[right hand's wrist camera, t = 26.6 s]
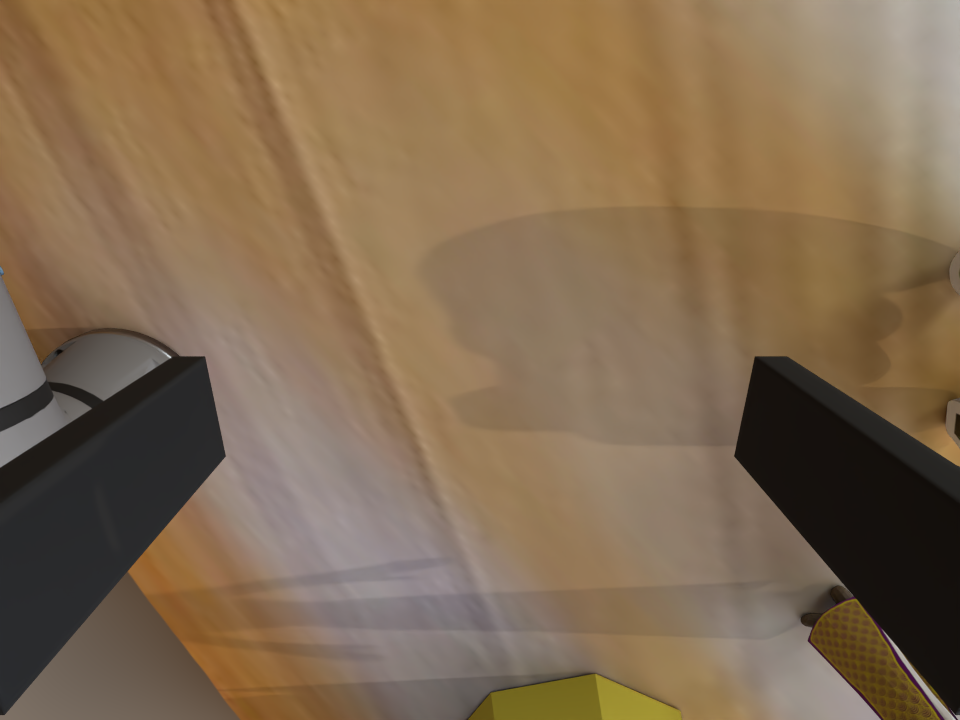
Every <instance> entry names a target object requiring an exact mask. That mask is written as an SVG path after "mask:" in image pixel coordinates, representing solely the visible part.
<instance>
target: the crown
mask: <svg viewBox="0 0 960 720" xmlns="http://www.w3.org/2000/svg"><path fill="white" fill-rule="evenodd" d="M468 720H682V717H681V712H680V711H679V710H677V709H675V708H673V707H670V706H668V705H666V704H663V703H661V702H659V701H657V700H654V699H652V698H650V697H647V696H645V695H643V694H641V693H638V692H636V691H634V690H631V689H629V688H627V687H625V686H622V685H620V684H618V683H615V682H613V681H611V680H608V679H606V678H604V677H602V676H599V675H597V674H591V675H585V676H580V677H574V678H569V679H563V680H558V681H552V682H547V683H541V684H536V685H530V686H525V687H519V688H514V689H508V690H503V691H497V692H492V693H490V694H489V695H488V697H487V698H486V699H485V700H484V701H483V703H482V704H481V705H480V706H479V707H478V708H477V710H476V711H475V712H474V713H473V714H472V715H471V717H470V718H469V719H468Z"/></svg>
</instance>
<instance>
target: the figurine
mask: <svg viewBox="0 0 960 720" xmlns="http://www.w3.org/2000/svg"><path fill="white" fill-rule="evenodd" d="M831 596H832V598H833V599H834V601H835V602H836V603H837V604H836V605H834V606H833V607H831V608H830V609H828V610H827V611H826V612H824V613H823V614H812V613H810V614H807V615H804V616H803V617H802V618H801V622H802V624H803V625H805V626H808V627H812V630H811V633H810V636H809V638H808V642H809V643H810V644H811V645H812V646H813V647H814V648H815V649H816V650H817V651H818V652H819V653H820V654H821V655H822V656H823V657H824V658H825V659H826V660H827V661H828V663H829V664H830V665H831V666H832V667H833V668H834V669H835V670H836V671H837V672H838V673H839V674H840V675H841V676H842V677H843V678H844V679H845V680H846V681H847V683H848V684H849V685H850V686H851V687H852V688H853V689H854V690H855V691H856V692H857V693H858V694H859V695H860V696H861V697H862V699H863V700H864V701H865V702H866V703H867V704H868V705H869V706H870V708H871V709H872V710H873V711H874V712H875V713H876V714H877V715H878V717H879V718H880V719H881V720H958V719H957V718H956V717H955V715H954V714H953V712H952V711H951V710H950V708H949V707H948V706H947V704H946V703H945V702H944V701H943V700H942V699H941V697H940V696H939V695H938V694H937V693H936V692H935V690H934V689H933V688H932V687H931V686H930V685H929V683H928V682H927V681H926V680H925V679H924V678H923V676H922V675H921V674H920V673H919V672H918V671H917V669H916V668H915V667H914V666H913V665H912V664H911V662H910V661H909V660H908V659H907V658H906V657H905V655H904V654H903V653H902V652H901V651H900V649H899V648H898V647H897V646H896V645H895V644H894V642H893V641H892V640H891V639H890V638H889V637H888V635H887V634H886V633H885V632H884V631H883V630H882V628H881V627H880V626H879V625H878V624H877V623H876V621H875V620H874V619H873V618H872V617H871V616H870V614H869V613H868V612H867V611H866V610H865V609H864V607H863V606H862V605H861V604H860V603H859V602H858V600H857V599H856V598H855V597H853V596H852V595H851V594H850V592H849V591H848V590H846V589H845V588H844V587H842V586H836V587H834V588H833V589H832V591H831Z"/></svg>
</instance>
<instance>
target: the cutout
mask: <svg viewBox="0 0 960 720" xmlns="http://www.w3.org/2000/svg"><path fill="white" fill-rule="evenodd" d="M949 274H950V282H951V284H952V287H953V288H954V290H955V291H956V293H957V294H958V295H960V251H958V253H957V254H956V255H955V256H954V258H953V260H952V262H951V265H950V269H949ZM945 426H946V431H947V433H948V434H949V436H950V437H951V438H952V439H953V440H954V442H955V443H956V444H957V446H958V447H959V448H960V398H957V399H953V400H951V401H949V402H948V405H947V415H946V424H945Z"/></svg>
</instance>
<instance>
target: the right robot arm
mask: <svg viewBox="0 0 960 720" xmlns="http://www.w3.org/2000/svg"><path fill="white" fill-rule="evenodd" d="M3 274H4V272H3V269H2V268H1V266H0V715H5V714H6V713H7V711H8V710H9V709H10V708H11V707H12V706H13V704H14V703H15V702H16V701H17V700H18V699H19V697H20V696H21V695H22V694H23V693H24V692H25V690H26V689H27V688H28V687H29V686H30V685H31V683H32V682H33V681H34V680H35V679H36V678H37V676H38V675H39V674H40V673H41V672H42V671H43V669H44V668H45V667H46V666H47V665H48V664H49V662H50V661H51V660H52V659H53V658H54V657H55V655H56V654H57V653H58V652H59V651H60V649H61V648H62V647H63V646H64V645H65V644H66V642H67V641H68V640H69V639H70V638H71V637H72V635H73V634H74V633H75V632H76V631H77V630H78V628H79V627H80V626H81V625H82V624H83V623H84V621H85V620H86V619H87V618H88V617H89V616H90V614H91V613H92V612H93V611H94V610H95V609H96V607H97V606H98V605H99V604H100V603H101V601H102V600H103V599H104V598H105V597H106V596H107V594H108V593H109V592H110V591H111V590H112V589H113V588H114V586H115V585H116V584H117V583H118V582H119V581H120V579H121V578H122V577H123V576H124V575H125V573H126V572H127V571H128V570H129V569H130V568H131V566H132V565H133V564H134V563H135V562H136V561H137V559H138V558H139V557H140V556H141V555H142V554H143V552H144V551H145V550H146V549H147V548H148V547H149V545H150V544H151V543H152V542H153V541H154V540H155V538H156V537H157V536H158V535H159V534H160V533H161V531H162V530H163V529H164V528H165V527H166V526H167V524H168V523H169V522H170V521H171V520H172V519H173V517H174V516H175V515H176V514H177V513H178V512H179V510H180V509H181V508H182V507H183V506H184V505H185V503H186V502H187V501H188V500H189V499H190V497H191V496H192V495H193V494H194V493H195V492H196V490H197V489H198V488H199V487H200V486H201V485H202V483H203V482H204V481H205V480H206V479H207V478H208V476H209V475H210V474H211V473H212V472H213V471H214V469H215V468H216V467H217V466H218V465H219V464H220V462H221V461H222V460H223V459H224V458H225V457H226V455H225V450H224V446H223V441H222V436H221V431H220V426H219V421H218V417H217V412H216V407H215V402H214V397H213V393H212V388H211V383H210V378H209V373H208V369H207V364H206V359H205V357H180V356H179V355H177V354H176V353H175V352H174V351H173V350H171V349H170V348H169V347H167V346H166V345H164V344H162V343H161V342H159V341H157V340H155V339H153V338H151V337H149V336H146V335H143V334H141V333H137V332H134V331H130V330H124V329H98V330H93V331H90V332H86V333H84V334H82V335H79V336H77V337H75V338H73V339H70V340H68V341H67V342H65V343H63V344H62V345H61V346H59V347H58V348H56V349H55V350H54V351H53V352H51V353H50V355H49V356H48V357H47V358H46V359H45V360H44V361H43V363H42V364H40V362H39V360H38V357H37V355H36V353H35V351H34V348H33V346H32V344H31V342H30V339H29V337H28V335H27V333H26V330H25V328H24V326H23V324H22V321H21V319H20V317H19V315H18V312H17V310H16V308H15V306H14V303H13V301H12V299H11V297H10V294H9V292H8V290H7V288H6V285H5V283H4V281H3V279H2V276H1V275H3ZM734 457H735V458H736V459H737V460H738V461H739V462H740V464H741V465H742V466H743V467H744V468H745V469H746V471H747V472H748V473H749V474H750V475H751V476H752V478H753V479H754V480H755V481H756V482H757V483H758V485H759V486H760V487H761V488H762V489H763V490H764V492H765V493H766V494H767V495H768V496H769V497H770V499H771V500H772V501H773V502H774V503H775V505H776V506H777V507H778V508H779V509H780V510H781V512H782V513H783V514H784V515H785V516H786V517H787V519H788V520H789V521H790V522H791V523H792V524H793V526H794V527H795V528H796V529H797V530H798V531H799V533H800V534H801V535H802V536H803V537H804V538H805V540H806V541H807V542H808V543H809V544H810V545H811V547H812V548H813V549H814V550H815V551H816V552H817V554H818V555H819V556H820V557H821V558H822V559H823V561H824V562H825V563H826V564H827V565H828V566H829V568H830V569H831V570H832V571H833V572H834V573H835V575H836V576H837V577H838V578H839V579H840V581H841V582H842V583H843V584H844V585H845V586H846V588H847V589H848V590H849V591H850V592H851V593H852V595H853V596H854V597H855V598H856V599H857V600H858V602H859V603H860V604H861V605H862V606H863V607H864V609H865V610H866V611H867V612H868V613H869V614H870V616H871V617H872V618H873V619H874V620H875V621H876V623H877V624H878V625H879V626H880V627H881V628H882V630H883V631H884V632H885V633H886V634H887V635H888V637H889V638H890V639H891V640H892V641H893V642H894V644H895V645H896V646H897V647H898V648H899V649H900V651H901V652H902V653H903V654H904V655H905V657H906V658H907V659H908V660H909V661H910V662H911V664H912V665H913V666H914V667H915V668H916V669H917V671H918V672H919V673H920V674H921V675H922V676H923V678H924V679H925V680H926V681H927V682H928V683H929V685H930V686H931V687H932V688H933V689H934V690H935V692H936V693H937V694H938V695H939V696H940V697H941V699H942V700H943V701H944V702H945V703H946V704H947V706H948V707H949V708H950V709H951V710H952V711H953V713H954V714H955V715H960V467H959V466H957V465H955V464H953V463H952V462H950V461H949V460H947V459H946V458H944V457H943V456H941V455H939V454H938V453H936V452H935V451H933V450H932V449H930V448H929V447H927V446H925V445H924V444H922V443H921V442H919V441H918V440H916V439H915V438H913V437H911V436H910V435H908V434H907V433H905V432H904V431H902V430H901V429H899V428H897V427H896V426H894V425H893V424H891V423H890V422H888V421H887V420H885V419H883V418H882V417H880V416H879V415H877V414H876V413H874V412H873V411H871V410H869V409H868V408H866V407H865V406H863V405H862V404H860V403H859V402H857V401H855V400H854V399H852V398H851V397H849V396H848V395H846V394H845V393H843V392H841V391H840V390H838V389H837V388H835V387H834V386H832V385H831V384H829V383H828V382H826V381H824V380H823V379H821V378H820V377H818V376H817V375H815V374H814V373H812V372H810V371H809V370H807V369H806V368H804V367H803V366H801V365H800V364H798V363H796V362H795V361H793V360H792V359H790V358H789V357H755V359H754V364H753V369H752V373H751V378H750V383H749V388H748V393H747V397H746V402H745V407H744V412H743V417H742V421H741V426H740V431H739V436H738V441H737V446H736V450H735V455H734Z"/></svg>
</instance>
